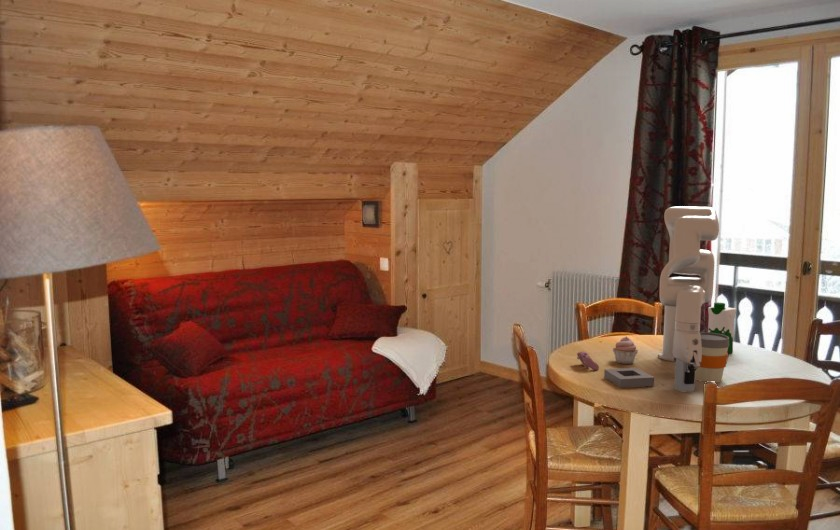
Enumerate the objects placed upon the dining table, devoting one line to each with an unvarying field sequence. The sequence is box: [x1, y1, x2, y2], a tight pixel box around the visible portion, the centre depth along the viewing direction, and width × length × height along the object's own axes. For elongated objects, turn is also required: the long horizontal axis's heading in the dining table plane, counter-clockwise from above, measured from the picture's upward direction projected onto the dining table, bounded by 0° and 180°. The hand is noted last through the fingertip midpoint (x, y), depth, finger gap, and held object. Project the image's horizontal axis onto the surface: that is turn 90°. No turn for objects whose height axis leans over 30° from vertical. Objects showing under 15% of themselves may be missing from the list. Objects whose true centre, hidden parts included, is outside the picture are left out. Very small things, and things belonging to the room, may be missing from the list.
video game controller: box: [576, 350, 600, 371], centre depth 250 cm, size 10×5×7 cm, turn 5°
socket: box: [603, 367, 655, 389], centre depth 232 cm, size 12×12×3 cm
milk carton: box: [707, 302, 737, 354], centre depth 272 cm, size 9×9×20 cm
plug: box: [673, 358, 696, 393], centre depth 223 cm, size 4×4×10 cm
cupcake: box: [612, 336, 639, 365], centre depth 257 cm, size 9×9×10 cm
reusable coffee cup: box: [695, 331, 729, 383], centre depth 236 cm, size 13×13×15 cm
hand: (684, 380), depth 224 cm, fingers open, 4 cm apart
